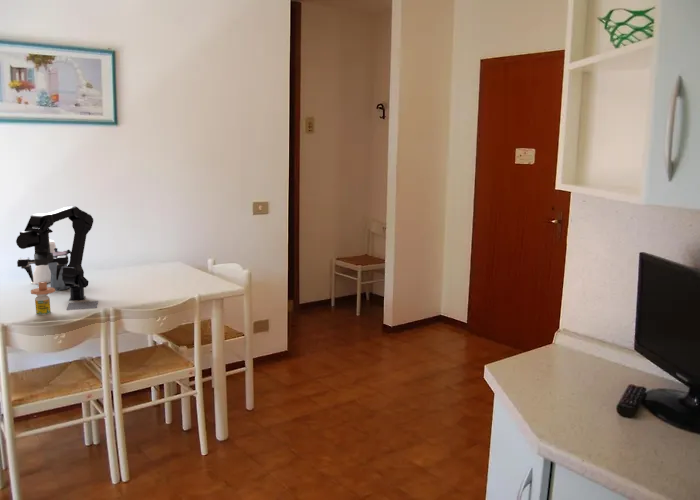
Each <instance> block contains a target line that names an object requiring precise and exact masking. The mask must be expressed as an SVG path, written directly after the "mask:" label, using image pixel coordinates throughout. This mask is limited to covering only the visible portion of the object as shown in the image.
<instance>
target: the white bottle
mask: <svg viewBox="0 0 700 500" xmlns="http://www.w3.org/2000/svg"><path fill="white" fill-rule="evenodd" d="M49 243H50V253H52V252H55V250H54V249H55V248H57V246H56V243H55V240H53V239H50V238H49ZM30 281H31V280H30ZM39 282H47V284H49V283H51V272H50V269H49V266H48V265H39V266H36V265H35V267H34V270H33V282H32V281H31V282H30V283H31V284H32V285H39V284H38V283H39Z"/></svg>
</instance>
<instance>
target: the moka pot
mask: <svg viewBox="0 0 700 500" xmlns="http://www.w3.org/2000/svg"><path fill="white" fill-rule="evenodd" d="M54 250H55V252H52V253H53V258H57V257H58V256H63V255H67V256H68V254H70V257H71V251H72V250H70V249H66V250H63V251H59V250H58V248H57V247H56V248H55V249H54ZM70 257H69V258H70ZM57 264H58V263H57V262H54V263H48V266H49V269H50V272H51V282H50V287H51V288H55V291H63V290H68V289H70V287H66V286H65V284H64V281H63V280H62V273H63V268H64V267H67V266H68V264H65V266H62V267H61V270H60V273H59V277H58V280H56V273H57Z"/></svg>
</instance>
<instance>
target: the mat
mask: <svg viewBox="0 0 700 500" xmlns="http://www.w3.org/2000/svg"><path fill="white" fill-rule="evenodd" d="M98 303H99V300H93V301H92V300H91V301H77V302H76V301H74V302H73V301H72V302H68V305H67V306H66V311H72V310H74V311H75V310H89V309H98V307H99V306H98V305H99V304H98Z"/></svg>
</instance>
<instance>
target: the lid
mask: <svg viewBox="0 0 700 500" xmlns="http://www.w3.org/2000/svg"><path fill="white" fill-rule="evenodd" d="M37 285H38V287H37V288H33V289H31V290H30V294H31V295H35V296H37V295H41V294H47V295H49V294H53V293H56V290H55V288H51V286H49V287H48V283H47V282H39V283H38V284H37Z"/></svg>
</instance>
